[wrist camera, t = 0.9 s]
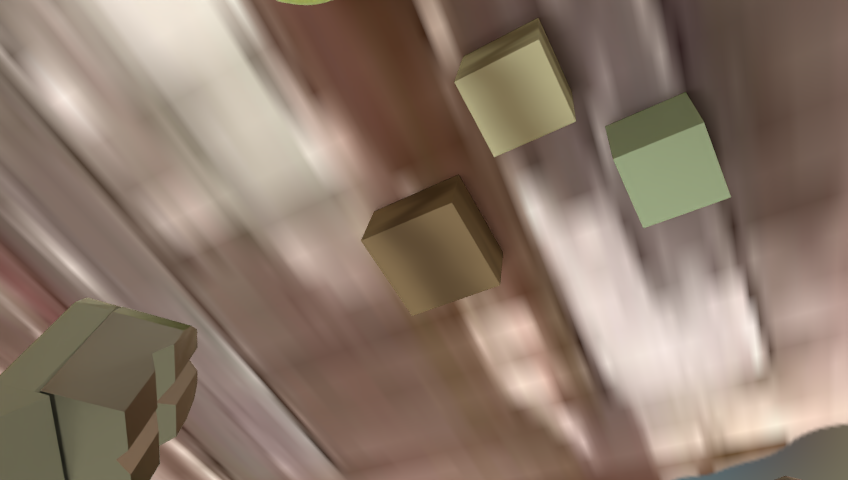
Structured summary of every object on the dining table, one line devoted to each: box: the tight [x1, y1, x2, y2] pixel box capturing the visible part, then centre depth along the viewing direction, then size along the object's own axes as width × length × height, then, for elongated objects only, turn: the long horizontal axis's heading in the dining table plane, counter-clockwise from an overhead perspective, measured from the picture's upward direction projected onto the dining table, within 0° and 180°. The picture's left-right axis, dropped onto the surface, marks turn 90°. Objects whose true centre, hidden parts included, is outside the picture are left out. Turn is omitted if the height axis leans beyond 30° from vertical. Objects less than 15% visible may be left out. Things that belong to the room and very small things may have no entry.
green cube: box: [605, 92, 731, 228], centre depth 37 cm, size 5×5×5 cm
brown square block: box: [361, 175, 503, 316], centre depth 43 cm, size 7×7×4 cm
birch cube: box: [454, 18, 576, 157], centre depth 36 cm, size 5×5×5 cm
